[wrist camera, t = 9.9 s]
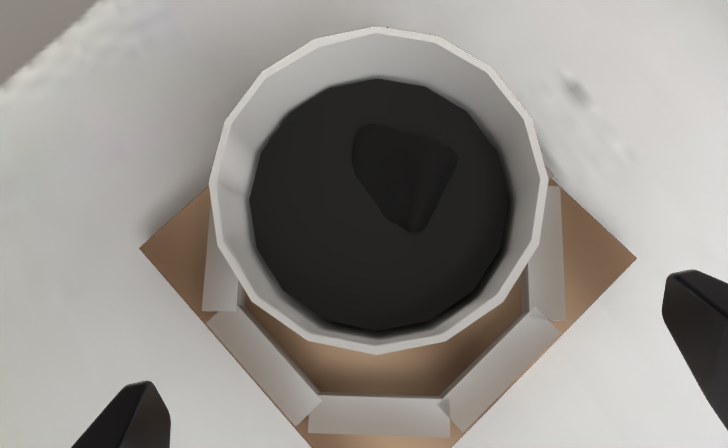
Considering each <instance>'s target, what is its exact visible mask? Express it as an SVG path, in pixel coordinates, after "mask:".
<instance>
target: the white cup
mask: <svg viewBox="0 0 728 448" xmlns="http://www.w3.org/2000/svg"><path fill="white" fill-rule="evenodd" d="M548 180H549V179H548V175H547V172H546V168H545V164H544V161H543V157H542V153H541V150H540V146H539V142H538V139H537V135H536V131H535V128H534V124H533V120H532V117H531V116H530V115H529V113H528V112H527V111H526V110H525V108H524V107H523V106H522V104H521V103H520V102H519V101H518V99H517V98H516V97H515V96H514V94H513V93H512V92H511V90H510V89H509V88H508V87H507V85H506V84H505V83H504V82H503V80H502V79H501V78H500V76H499V75H498V74H497V73H496V71H495V70H494V69H493V68H492V67H491V66H489V65H487V64H485V63H484V62H482V61H480V60H479V59H477V58H475V57H473V56H472V55H470V54H468V53H467V52H465V51H463V50H461V49H460V48H458V47H456V46H454V45H453V44H451V43H449V42H448V41H446V40H444V39H442V38H441V37H439V36H434V35H428V34H422V33H416V32H410V31H403V30H397V29H391V28H385V27H379V26H374V27H369V28H364V29H359V30H354V31H349V32H344V33H339V34H334V35H329V36H325V37H320V38H315V39H313V40H312V41H310V42H308V43H307V44H305V45H304V46H302V47H300V48H299V49H297V50H296V51H294V52H292V53H291V54H289V55H288V56H286V57H284V58H283V59H281V60H280V61H278V62H276V63H275V64H273V65H271V66H270V67H268V68H267V69H265V70H263V71H262V72H261V73H260V75H259V76H258V77H257V79H256V80H255V81H254V83H253V84H252V85H251V87H250V88H249V89H248V91H247V92H246V93H245V95H244V96H243V97H242V99H241V100H240V101H239V103H238V104H237V105H236V107H235V108H234V109H233V111H232V112H231V113H230V115H229V116H228V117H227V119H226V120H225V121H224V125H223V129H222V133H221V137H220V140H219V144H218V148H217V152H216V155H215V159H214V163H213V167H212V170H211V174H210V178H209V189H210V196H211V204H212V211H213V218H214V225H215V232H216V239H217V246H218V247H219V249H220V250H221V252H222V254H223V255H224V257H225V259H226V260H227V262H228V263H229V265H230V267H231V268H232V270H233V272H234V273H235V275H236V277H237V278H238V280H239V281H240V283H241V285H242V286H243V288H244V290H245V291H246V293H247V294H248V296H249V298H250V299H251V301H252V302H253V303H255V304H256V305H257V306H259V307H260V308H262V309H263V310H265V311H266V312H267V313H269V314H270V315H272V316H273V317H275V318H276V319H277V320H279V321H280V322H282V323H283V324H284V325H286V326H287V327H289V328H290V329H292V330H293V331H294V332H296V333H297V334H299V335H300V336H302V337H303V338H304V339H306V340H307V341H311V342H316V343H321V344H325V345H330V346H335V347H340V348H344V349H349V350H354V351H359V352H363V353H368V354H373V355H380V354H385V353H390V352H395V351H400V350H405V349H410V348H415V347H420V346H425V345H430V344H435V343H440V342H445V341H447V340H448V339H450V338H451V337H453V336H454V335H456V334H457V333H459V332H460V331H462V330H463V329H464V328H466V327H467V326H469V325H470V324H472V323H473V322H475V321H476V320H478V319H479V318H481V317H482V316H483V315H485V314H486V313H488V312H489V311H491V310H492V309H494V308H495V307H497V306H498V305H499V304H501V303H502V302H503V301H504V300H505V298H506V297H507V295H508V293H509V292H510V290H511V289H512V287H513V285H514V284H515V282H516V281H517V279H518V277H519V276H520V274H521V273H522V271H523V269H524V268H525V266H526V265H527V263H528V261H529V260H530V258H531V257H532V255H533V253H534V252H535V250H536V249H537V247H538V245H539V242H540V235H541V228H542V221H543V214H544V207H545V201H546V194H547V187H548Z"/></svg>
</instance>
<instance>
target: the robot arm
mask: <svg viewBox="0 0 728 448" xmlns="http://www.w3.org/2000/svg"><path fill="white" fill-rule="evenodd" d="M662 315H663V319H664V322H665V324H666V326H667V328H668V330H669V331H670V333H671V335H672V337H673V339H674V341H675V343H676V344H677V346H678V348H679V350H680V352H681V354H682V355H683V357H684V359H685V361H686V363H687V365H688V366H689V368H690V370H691V372H692V374H693V376H694V378H695V379H696V381H697V383H698V385H699V387H700V388H701V390H702V392H703V394H704V395H705V397H706V399H707V400H708V402H709V403H710V405H711V407H712V408H713V410H714V411H715V413H716V414H717V415H718V417H719V418H720V420H721V421H722V423H723V424H724V426H725V427H726V429H727V430H728V283H726V282H723V281H721V280H719V279H716V278H714V277H712V276H709V275H707V274H705V273H702V272H700V271H697V270H686V271H681V272H676V273H672V274H670V275H669V276H668V278H667V280H666V285H665V292H664V298H663V305H662ZM170 427H171V421H170V415H169V411H168V409H167V407H166V405H165V404H164V402H163V400H162V398H161V396H160V395H159V393H158V391H157V389H156V387H155V386H154V384H153V383H152V382H150V381H142V382H137V383H133V384H129V385H126V386H125V387H124V388H123V389H122V390H121V391H120V392H119V393H118V394H117V395H116V396H115V398H114V399H113V400H112V401H111V402H110V403H109V404H108V406H107V407H106V408H105V409H104V410H103V411H102V413H101V414H100V415H99V416H98V417H97V418H96V419H95V421H94V422H93V423H92V424H91V425H90V426H89V428H88V429H87V430H86V431H85V432H84V433H83V434H82V436H81V437H80V438H79V439H78V440H77V441H76V443H75V444H74V445H73V446H72V447H71V448H170Z"/></svg>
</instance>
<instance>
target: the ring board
mask: <svg viewBox="0 0 728 448" xmlns="http://www.w3.org/2000/svg"><path fill="white" fill-rule="evenodd" d="M387 28H388V27H387ZM545 168H546V172H547V175H548V179H549V180H548V187H547V194H546V201H545V207H544V214H543V221H542V228H541V235H540V242H539V245H538V247H537V249H536V250H535V252H534V253H533V255H532V257H531V258H530V260H529V261H528V263H527V265H526V266H525V268H524V269H523V271H522V273H521V274H520V276H519V277H518V279H517V281H516V282H515V284H514V285H513V287H512V289H511V290H510V292H509V293H508V295H507V297H506V298H505V300H504V301H503V302H502V303H501V304H499V305H498V306H497V307H495V308H494V309H492V310H491V311H489V312H488V313H486V314H485V315H483V316H482V317H481V318H479V319H478V320H476V321H475V322H473V323H472V324H470V325H469V326H467V327H466V328H464V329H463V330H462V331H460V332H459V333H457V334H456V335H454V336H453V337H451V338H450V339H448V340H447V341H445V342H440V343H435V344H430V345H425V346H420V347H415V348H410V349H405V350H400V351H395V352H390V353H385V354H380V355H373V354H368V353H363V352H359V351H354V350H349V349H344V348H340V347H335V346H330V345H325V344H321V343H316V342H311V341H307V340H306V339H304V338H303V337H302V336H300V335H299V334H297V333H296V332H294V331H293V330H292V329H290V328H289V327H287V326H286V325H284V324H283V323H282V322H280V321H279V320H277V319H276V318H275V317H273V316H272V315H270V314H269V313H267V312H266V311H265V310H263V309H262V308H260V307H259V306H257V305H256V304H255V303H253V302H252V301H251V299H250V298H249V296H248V294H247V293H246V291H245V290H244V288H243V286H242V285H241V283H240V281H239V280H238V278H237V277H236V275H235V273H234V272H233V270H232V268H231V267H230V265H229V263H228V262H227V260H226V259H225V257H224V255H223V254H222V252H221V250H220V249H219V247H218V246H217V239H216V232H215V225H214V218H213V211H212V204H211V196H210V189H209V186H208V187H207V188H206V189H205V190H204V191H203V192H202V193H200V194H199V195H198V196H197V197H196V198H195V199H194V200H193V201H191V202H190V203H189V204H188V205H187V206H186V207H185V208H184V209H182V210H181V211H180V212H179V213H178V214H177V215H176V216H175V217H174V218H172V219H171V220H170V221H169V222H168V223H167V224H166V225H165V226H163V227H162V228H161V229H160V230H159V231H158V232H157V233H156V234H154V235H153V236H152V237H151V238H150V239H149V240H148V241H147V242H145V243H144V244H143V245H142V246H141V247H140V248H139V249H140V250H141V251H142V252H143V253H144V254H145V256H146V257H147V258H148V259H149V260H150V261H151V263H152V264H153V265H154V266H155V267H156V268H157V270H158V271H159V272H160V273H161V274H162V275H163V276H164V278H165V279H166V280H167V281H168V282H169V283H170V285H171V286H172V287H173V288H174V289H175V290H176V291H177V293H178V294H179V295H180V296H181V297H182V298H183V300H184V301H185V302H186V303H187V304H188V305H189V306H190V308H191V309H192V310H193V311H194V312H195V313H196V315H197V316H198V317H199V318H200V319H201V320H202V321H203V323H204V324H205V325H206V326H207V327H208V328H209V330H210V331H211V332H212V333H213V334H214V335H215V336H216V338H217V339H218V340H219V341H220V342H221V343H222V345H223V346H224V347H225V348H226V349H227V350H228V351H229V353H230V354H231V355H232V356H233V357H234V358H235V360H236V361H237V362H238V363H239V364H240V365H241V366H242V368H243V369H244V370H245V371H246V372H247V373H248V375H249V376H250V377H251V378H252V379H253V380H254V381H255V383H256V384H257V385H258V386H259V387H260V388H261V390H262V391H263V392H264V393H265V394H266V395H267V396H268V398H269V399H270V400H271V401H272V402H273V403H274V405H275V406H276V407H277V408H278V409H279V410H280V411H281V413H282V414H283V415H284V416H285V417H286V418H287V420H288V421H289V422H290V423H291V424H292V425H293V426H294V428H295V429H296V430H297V431H298V432H299V433H300V435H301V436H302V437H303V438H304V439H305V440H306V441H307V443H308V444H309V445H310V446H311V447H312V448H451V447H452V446H453V445H454V444H455V443H456V442H457V441H458V440H459V439H460V438H461V437H462V436H463V435H464V434H465V433H466V432H467V431H468V430H469V429H470V428H471V427H472V426H473V425H474V424H475V423H476V422H477V421H478V420H479V419H480V418H481V417H482V416H483V415H484V414H485V413H486V412H487V411H488V410H489V409H490V408H491V407H492V406H493V405H494V404H495V403H496V402H497V401H498V400H499V399H500V398H501V397H502V395H503V394H504V393H505V392H506V391H507V390H508V389H509V388H510V387H511V386H512V385H513V384H514V383H515V382H516V381H517V380H518V379H519V378H520V377H521V376H522V375H523V374H524V373H525V372H526V371H527V370H528V369H529V368H530V367H531V366H532V365H533V364H534V363H535V362H536V361H537V360H538V359H539V358H540V357H541V356H542V355H543V354H544V353H545V352H546V351H547V350H548V349H549V348H550V347H551V346H552V345H553V343H554V342H555V341H556V340H557V339H558V338H559V337H560V336H561V335H562V334H563V333H564V332H565V331H566V330H567V329H568V328H569V327H570V326H571V325H572V324H573V323H574V322H575V321H576V320H577V319H578V318H579V317H580V316H581V315H582V314H583V313H584V312H585V311H586V310H587V309H588V308H589V307H590V306H591V305H592V304H593V303H594V302H595V301H596V300H597V299H598V298H599V297H600V296H601V295H602V294H603V293H604V291H605V290H606V289H607V288H608V287H609V286H610V285H611V284H612V283H613V282H614V281H615V280H616V279H617V278H618V277H619V276H620V275H621V274H622V273H623V272H624V271H625V270H626V269H627V268H628V267H629V266H630V265H631V264H632V263H633V262H634V261H635V260H636V259H637V258H636V257H635V256H634V255H633V254H632V253H631V252H630V251H629V250H628V249H627V248H625V247H624V246H623V245H622V244H621V243H620V242H619V241H618V240H617V239H616V238H615V237H614V236H613V235H611V234H610V233H609V232H608V231H607V230H606V229H605V228H604V227H603V226H602V225H601V224H600V223H598V222H597V221H596V220H595V219H594V218H593V217H592V216H591V215H590V214H589V213H588V212H587V211H586V210H584V209H583V208H582V207H581V206H580V205H579V204H578V203H577V202H576V201H575V200H574V199H573V198H572V197H570V196H569V195H568V194H567V193H566V192H565V191H564V190H563V189H562V188H561V187H560V186H559V185H558V184H556V183H555V182H554V181H553V180H552V179H551V178H552V177H553V176H554V175H555V174H553V173H552V172H551V171H550V170H549V169H548V168H547V167H546V166H545Z"/></svg>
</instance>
